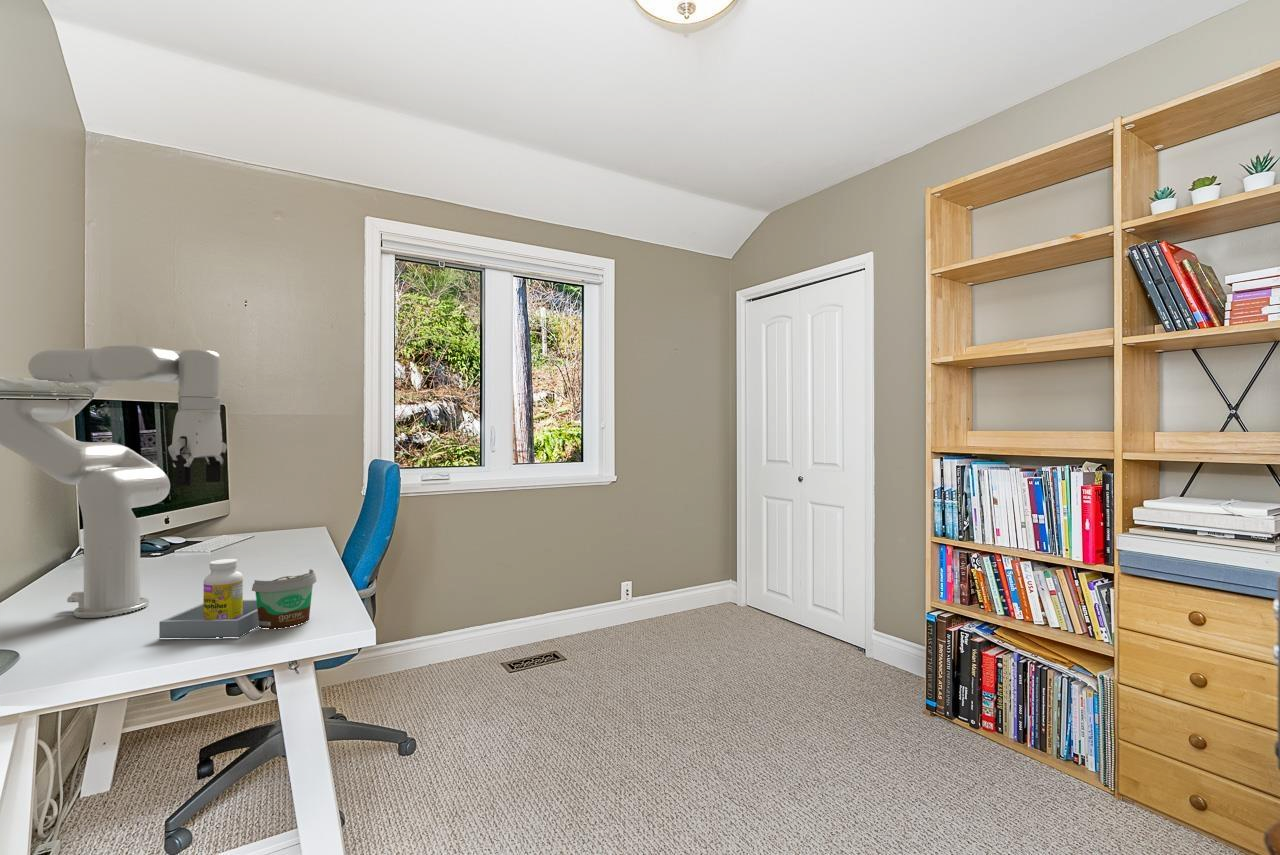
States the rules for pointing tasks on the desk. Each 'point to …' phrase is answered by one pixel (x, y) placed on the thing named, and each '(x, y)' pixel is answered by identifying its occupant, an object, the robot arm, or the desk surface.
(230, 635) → the tray
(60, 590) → the desk surface
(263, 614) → the food container
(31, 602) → the desk surface
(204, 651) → the desk surface
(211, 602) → the supplement bottle
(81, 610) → the robot arm
